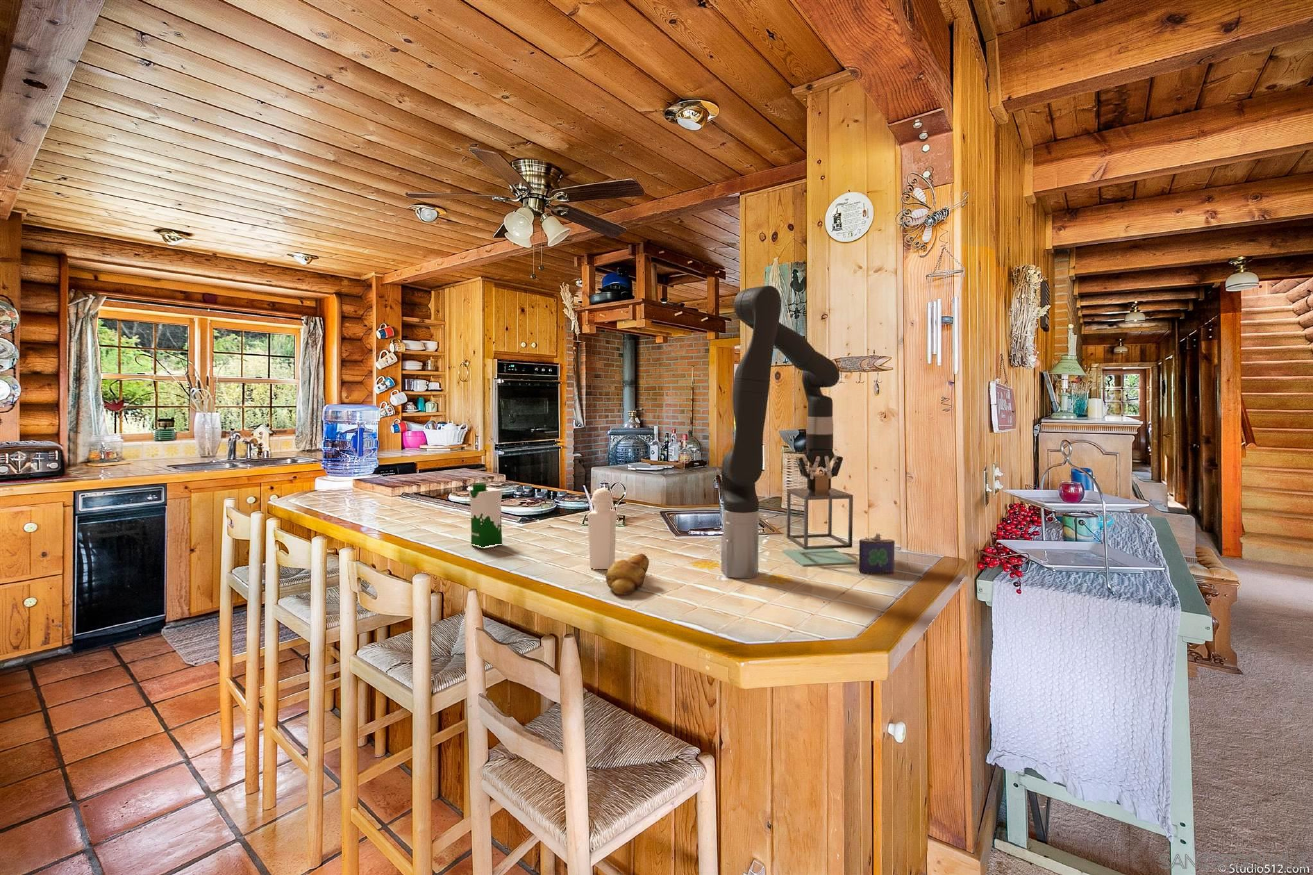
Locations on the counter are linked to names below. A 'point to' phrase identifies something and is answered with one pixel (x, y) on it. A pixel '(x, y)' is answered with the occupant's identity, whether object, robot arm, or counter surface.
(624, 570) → the bread roll
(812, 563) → the mat
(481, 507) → the milk carton
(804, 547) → the metal frame side table
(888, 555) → the flask
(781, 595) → the counter surface
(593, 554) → the beige bottle
